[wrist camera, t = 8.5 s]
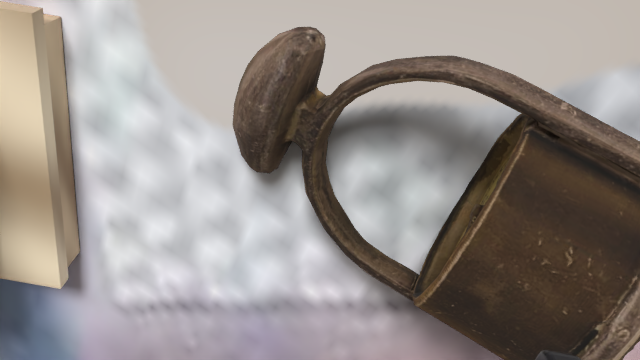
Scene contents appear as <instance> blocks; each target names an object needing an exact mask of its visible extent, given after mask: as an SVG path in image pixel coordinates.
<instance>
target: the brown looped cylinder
mask: <svg viewBox="0 0 640 360" xmlns="http://www.w3.org/2000/svg"><path fill="white" fill-rule="evenodd" d="M324 51H325V37H324V35H323V34H322V33H320V32H319V31H318V30H317V29H316V28H312V27H297V28H294V29H292V30H289V31H286V32H283V33H280V34H278V35H277V36H276V37H275V38H273V39H272V40H271V41H270V42H269V43H267V44H266V45H265V46H264V47H263V48H261V49H260V50H259V51H258V52H257V54H256V55H255V56H254V57H253V59H252V60H251V61H250V63H249V64H248V66H247V68H246V70H245V72H244V74H243V77H242V79H241V81H240V84H239V88H238V92H237V96H236V99H235V103H234V115H233V128H234V131H235V135H236V138H237V142H238V145H239V148H240V152H241V155H242V157H243V158H244V159H245V161H246V162H247V164H248V165H249V166H250V168H252V169H253V170H255V171H256V172H261V173H271V172H272V171H274V170H275V169H277V168H278V166H279V164H280V162H281V161H282V159H283V157H284V155H285V153H286V151H287V149H288V147H289V145H290V144H291V142H292V141H293V142H295V143H297V144H298V145H299V147H300V148H301V149H302V169H303V176H304V183H305V190H306V194H307V196H308V198H309V200H310V202H311V204H312V206H313V208H314V210H315V212H316V214H317V216H318V218H319V220H320V222H321V224H322V225H323V227H324V229H325V230H326V232H327V233H328V234H329V235H330V236H331V238H332V239H333V240H334V241H335V242H336V244H337V245H338V246H339V247H340V248H341V250H342V251H343V252H344V253H345V255H347V256H348V257H349V258H350V259H351V260H352V261H353V262H355V263H356V264H357V265H358V266H359V267H360V268H362V269H363V270H364V271H365V272H366V273H368V274H369V275H371V276H372V277H374V278H376V279H377V280H379V281H380V282H382V283H384V284H385V285H387V286H389V287H390V288H392V289H393V290H395V291H397V292H399V293H400V294H402V295H404V296H405V297H407V298H409V299H410V300H412V301H414V305H415V306H417V307H419V308H420V309H422V310H424V311H425V312H427V313H429V314H430V315H432V316H434V317H435V318H437V319H439V320H440V321H442V322H444V323H445V324H447V325H449V326H450V327H452V328H454V329H455V330H457V331H458V332H460V333H462V334H463V335H465V336H466V337H468V338H470V339H471V340H473V341H475V342H476V343H478V344H479V345H481V346H483V347H484V348H486V349H488V350H489V351H491V352H492V353H494V354H496V355H497V356H499V357H501V358H502V359H504V360H535V359H536V357H537V356H538V354H539V353H540V352H541V351H543V350H553V351H559V352H564V353H570V354H574V355H576V356H578V357H579V358H580V359H581V360H623V358H624V356H625V355H626V354H627V353H628V352H630V351H631V350H632V349H633V348H634V346H635V345H636V344H637V343H638V342H639V341H640V141H638V140H636V139H634V138H632V137H630V136H628V135H626V134H624V133H622V132H620V131H618V130H617V129H615V128H613V127H611V126H609V125H607V124H605V123H604V122H602V121H600V120H598V119H596V118H594V117H593V116H591V115H589V114H587V113H585V112H583V111H581V110H580V109H578V108H576V107H574V106H572V105H570V104H568V103H567V102H565V101H563V100H561V99H559V98H557V97H555V96H554V95H552V94H550V93H548V92H546V91H544V90H542V89H540V88H539V87H537V86H535V85H533V84H531V83H529V82H527V81H525V80H523V79H521V78H519V77H517V76H515V75H513V74H511V73H508V72H505V71H502V70H499V69H497V68H494V67H491V66H488V65H485V64H483V63H480V62H476V61H473V60H469V59H466V58H461V57H457V56H425V57H415V58H405V59H395V60H391V61H387V62H383V63H380V64H376V65H372V66H370V67H369V68H367V69H365V70H364V71H362V72H361V73H359V74H357V75H355V76H354V77H352V78H350V79H349V80H347V81H345V82H343V83H342V84H340V85H339V86H338V88H337V89H336V90H335V91H334V92H333V93H332V94H331V95H328V96H326V95H325V94H323V93H322V92H320V91H319V90H318V88H317V82H318V78H319V75H320V71H321V67H322V63H323V58H324ZM411 81H430V82H431V81H432V82H444V83H449V84H453V85H457V86H461V87H466V88H469V89H472V90H474V91H476V92H479V93H481V94H483V95H486V96H488V97H491V98H493V99H495V100H497V101H499V102H501V103H503V104H505V105H507V106H509V107H511V108H513V109H515V110H517V111H518V112H520V113H522V114H520V115H519V116H517V117H516V119H515V120H514V121H513V122H512V123H511V124H510V126H509V127H508V128H507V129H506V130H505V131H504V132H503V133H502V134H501V135H500V137H499V138H498V139H497V141H496V142H495V143H494V145H493V147H492V148H491V150H490V152H489V153H488V155H487V157H486V158H485V160H484V162H483V163H482V165H481V166H480V168H479V169H478V171H477V172H476V174H475V175H474V177H473V178H472V180H471V181H470V183H469V184H468V186H467V188H466V190H465V192H464V193H463V195H462V196H461V198H460V200H459V201H458V203H457V204H456V206H455V207H454V209H453V210H452V212H451V214H450V215H449V217H448V219H447V220H446V222H445V224H444V226H443V227H442V229H441V231H440V233H439V235H438V236H437V238H436V240H435V242H434V244H433V246H432V248H431V249H430V251H429V254H428V256H427V258H426V260H425V262H424V264H423V267H422V270H421V272H420V275H418V274H417V273H415V272H414V271H412V270H411V269H409V268H407V267H406V266H404V265H402V264H400V263H398V262H397V261H395V260H393V259H391V258H389V257H388V256H386V255H385V254H383V253H382V252H380V251H379V250H378V249H376V248H375V247H373V246H372V245H371V244H369V243H368V242H367V241H366V240H365V239H364V238H363V237H362V236H361V235H360V234H359V233H358V231H357V230H356V229H355V228H354V226H353V225H352V223H351V221H350V220H349V218H348V216H347V215H346V213H345V212H344V210H343V208H342V207H341V205H340V203H339V202H338V200H337V199H336V197H335V195H334V192H333V189H332V186H331V184H330V180H329V176H328V171H327V166H326V155H327V144H328V137H329V135H330V133H331V130H332V128H333V125H334V123H335V121H336V120H337V118H338V117H339V115H340V114H341V112H342V111H343V109H344V107H346V106H347V105H348V104H349V103H351V102H352V101H353V100H355V99H356V98H357V97H359V96H361V95H363V94H365V93H367V92H369V91H371V90H374V89H376V88H378V87H381V86H384V85H388V84H394V83H403V82H411Z"/></svg>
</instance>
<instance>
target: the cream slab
mask: <svg viewBox="0 0 640 360" xmlns="http://www.w3.org/2000/svg"><path fill="white" fill-rule="evenodd" d="M79 252H80V247H79V235H78V223H77V211H76V198H75V186H74V174H73V162H72V150H71V137H70V125H69V113H68V101H67V89H66V76H65V64H64V52H63V40H62V28H61V17H59V16H53V15H47V14H43V8H38V7H32V6H26V5H20V4H14V3H8V2H2V1H0V278H1V279H7V280H13V281H18V282H24V283H30V284H36V285H41V286H47V287H53V288H59V289H61V288H62V287H63V285H64V284H65V283H66V281H67V280H68V279H69V277H68V267H69V265H70V264H71V263H72V261H73V260H74V259H75V257H76V256H77V255H78V254H79Z"/></svg>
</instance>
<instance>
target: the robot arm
mask: <svg viewBox="0 0 640 360" xmlns="http://www.w3.org/2000/svg"><path fill="white" fill-rule="evenodd" d="M535 360H581V359H580V358H579V357H578V356H576V355H574V354H570V353H564V352H559V351H553V350H543V351H541V352H540V353H539V354H538V356H537V357H536V359H535Z"/></svg>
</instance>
